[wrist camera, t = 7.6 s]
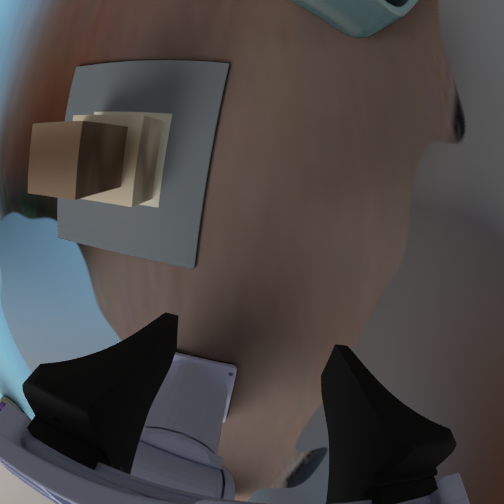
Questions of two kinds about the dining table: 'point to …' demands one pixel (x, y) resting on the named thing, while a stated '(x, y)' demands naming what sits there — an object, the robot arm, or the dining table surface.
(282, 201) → the dining table surface
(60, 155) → the walnut block
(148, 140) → the base block
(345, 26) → the flower pot
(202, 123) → the build mat
